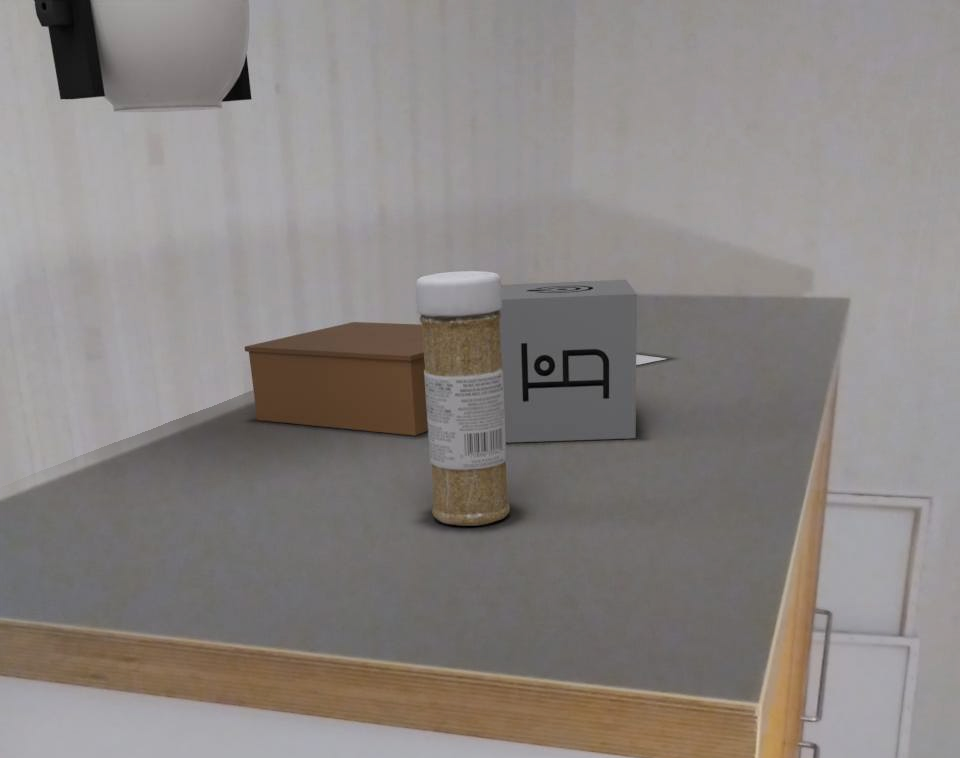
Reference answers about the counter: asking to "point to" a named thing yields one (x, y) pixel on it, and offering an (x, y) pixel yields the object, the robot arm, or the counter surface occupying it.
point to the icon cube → (569, 360)
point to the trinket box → (170, 52)
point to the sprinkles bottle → (464, 395)
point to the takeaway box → (344, 378)
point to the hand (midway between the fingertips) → (161, 99)
